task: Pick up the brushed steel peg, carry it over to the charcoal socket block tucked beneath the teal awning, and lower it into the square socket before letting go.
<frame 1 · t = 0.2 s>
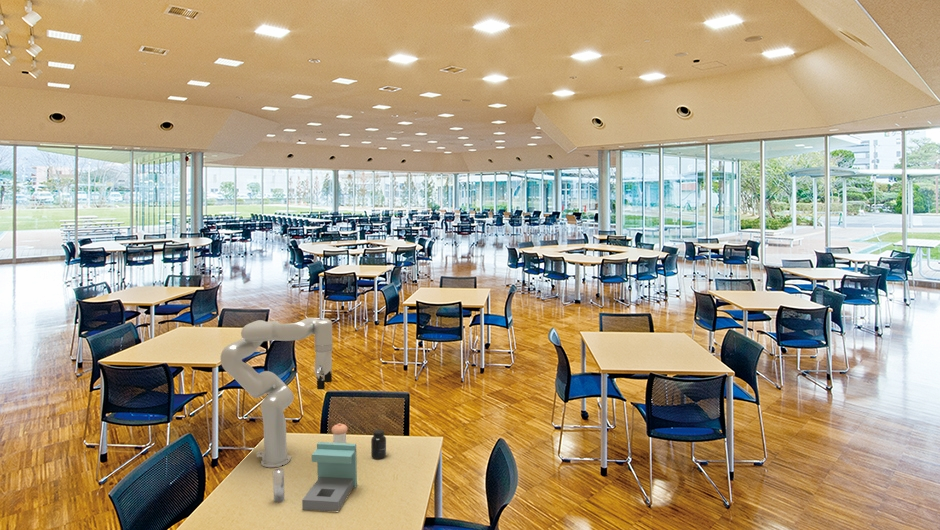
hand: (324, 385, 236), 36 cm above the table, tool pointing down, fingers open, 9 cm apart
salt shaker: (340, 465, 240), on the table
peg: (279, 499, 210), on the table
supplement bottle: (378, 456, 248), on the table
socket stand: (326, 502, 209), on the table
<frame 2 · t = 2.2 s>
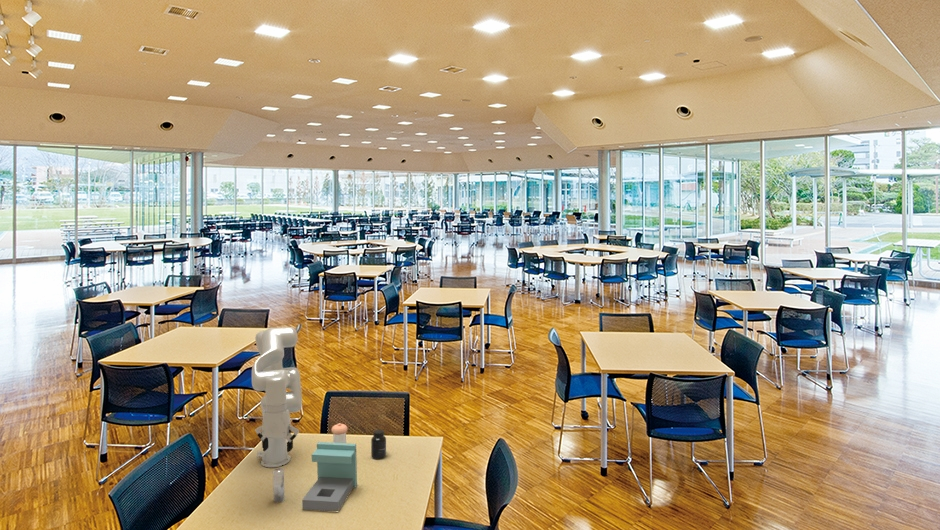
hand: (277, 450, 208), 20 cm above the table, tool pointing down, fingers open, 9 cm apart
nothing on the table moved.
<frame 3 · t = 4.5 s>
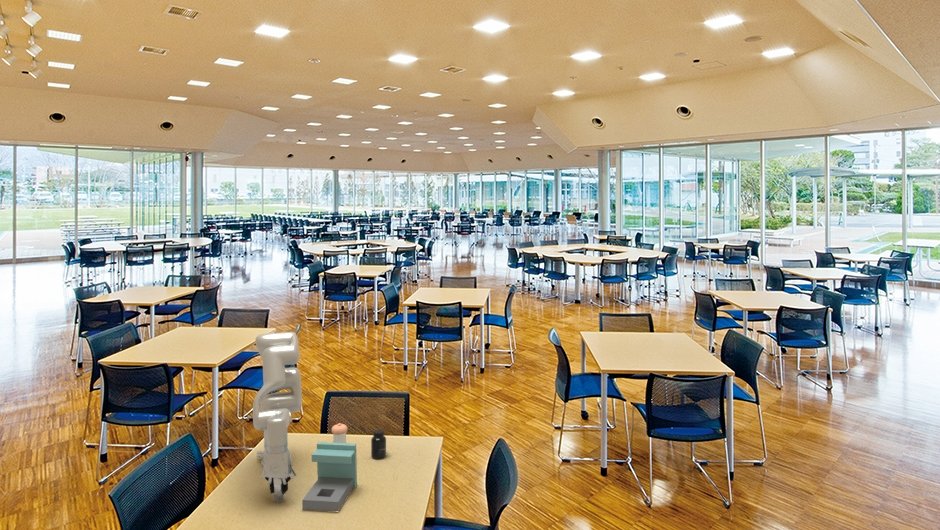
hand: (279, 491, 210), 3 cm above the table, tool pointing down, fingers closed on peg, 4 cm apart
peg: (279, 499, 210), on the table, touching gripper
everything else where it was.
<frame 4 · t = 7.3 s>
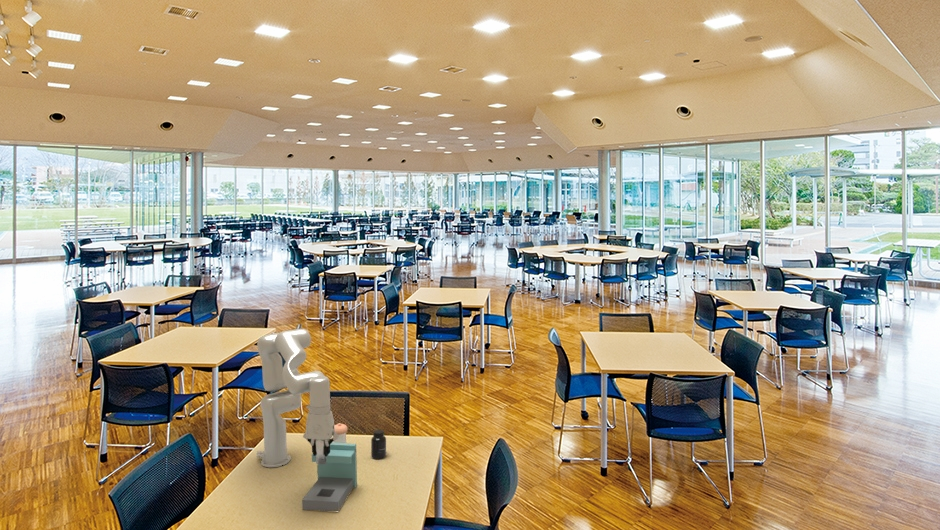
hand: (321, 454, 207), 20 cm above the table, tool pointing down, fingers closed on peg, 4 cm apart
peg: (321, 462, 207), point 16 cm above the table, touching gripper
everything else where it was.
when the fingers open (5 cm above the table, at t = 10.4 s): peg drops 1 cm, resting in socket stand.
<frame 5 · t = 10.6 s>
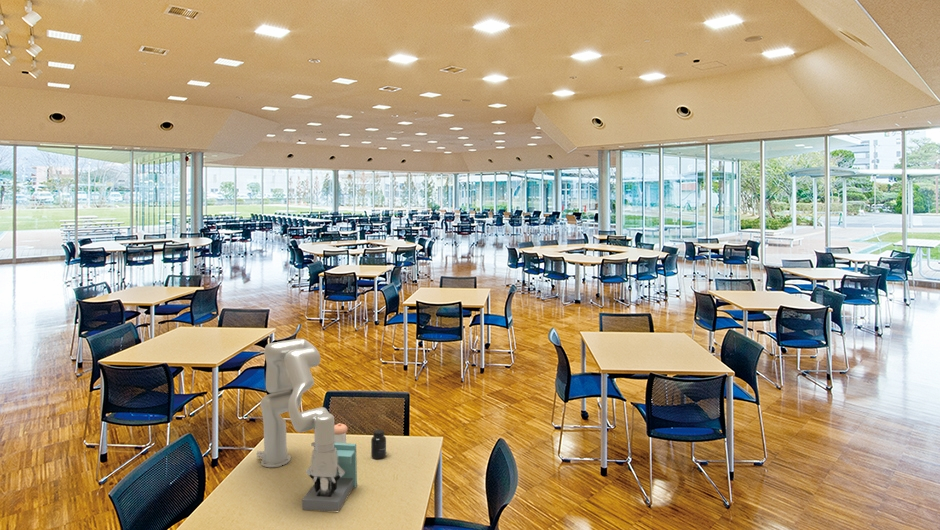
hand: (325, 490, 208), 5 cm above the table, tool pointing down, fingers open, 5 cm apart
peg: (325, 502, 209), resting in socket stand
everything else where it was.
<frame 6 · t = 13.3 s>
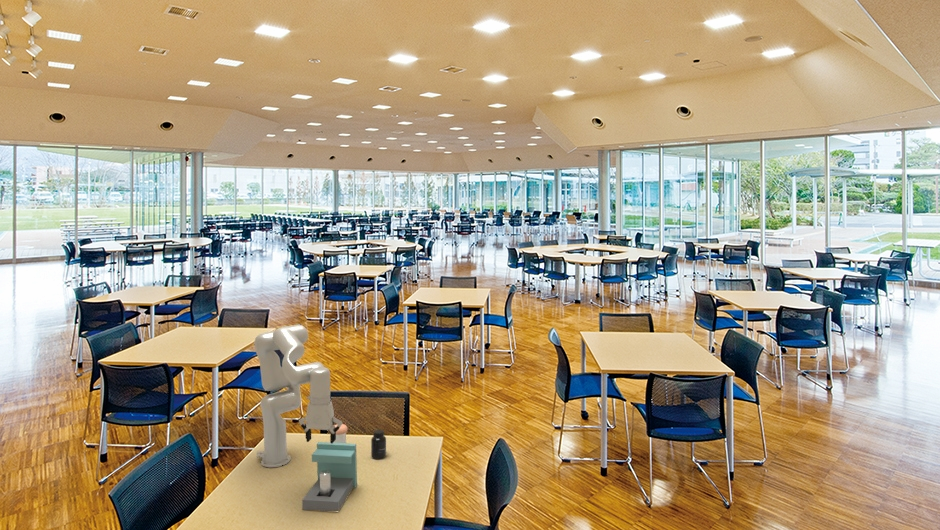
hand: (320, 441, 210), 23 cm above the table, tool pointing down, fingers open, 9 cm apart
nothing on the table moved.
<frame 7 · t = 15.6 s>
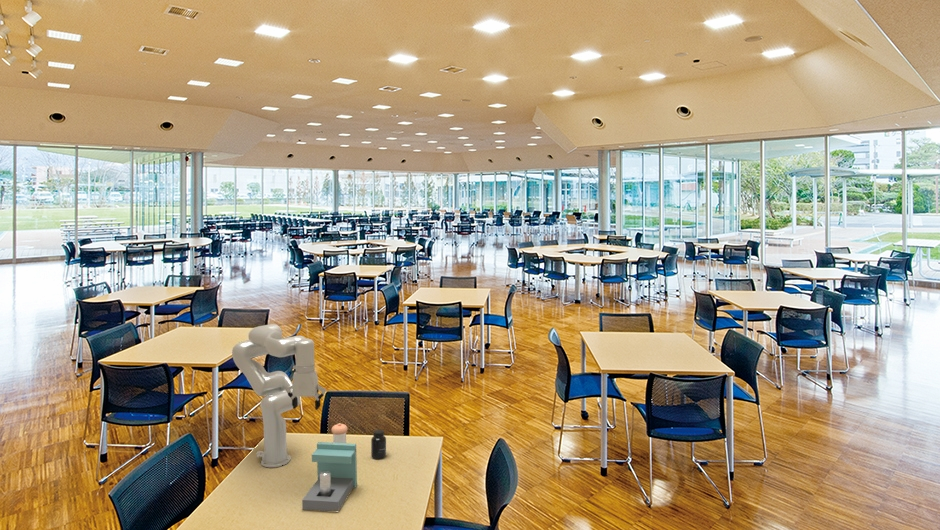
hand: (306, 408, 226), 30 cm above the table, tool pointing down, fingers open, 9 cm apart
nothing on the table moved.
at the end: peg 0.1 cm off-centre on the socket stand, point 0.0 cm above the socket stand's base; peg tilted 0°; the gripper is holding nothing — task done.
